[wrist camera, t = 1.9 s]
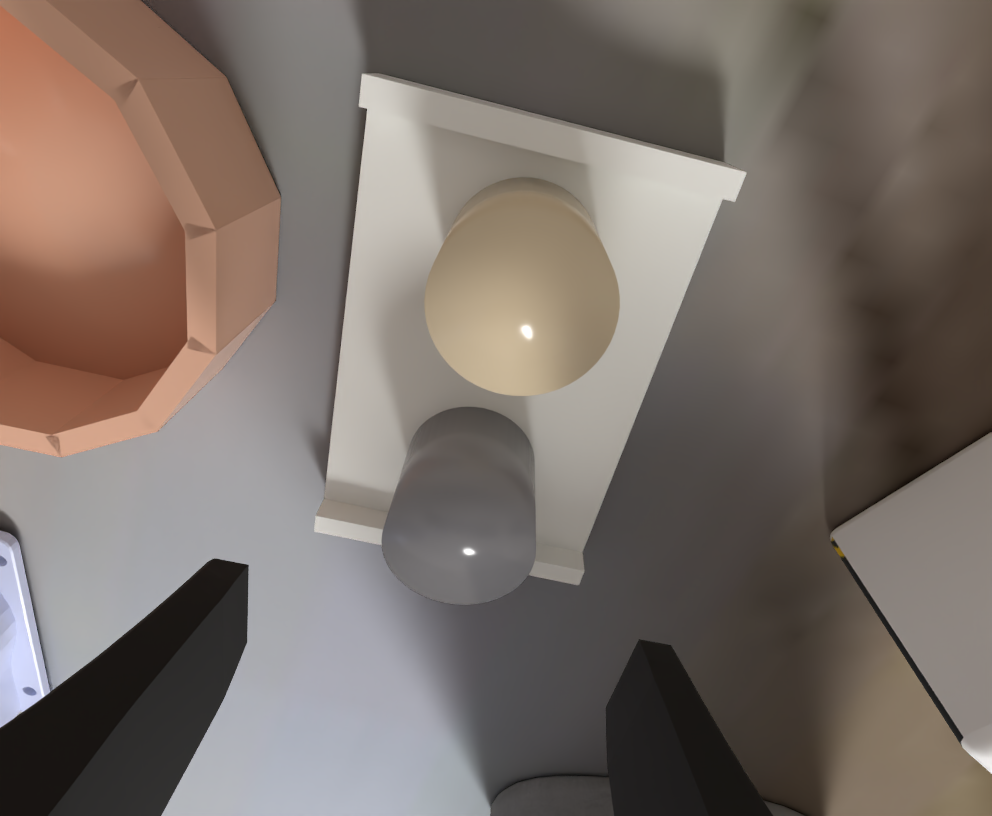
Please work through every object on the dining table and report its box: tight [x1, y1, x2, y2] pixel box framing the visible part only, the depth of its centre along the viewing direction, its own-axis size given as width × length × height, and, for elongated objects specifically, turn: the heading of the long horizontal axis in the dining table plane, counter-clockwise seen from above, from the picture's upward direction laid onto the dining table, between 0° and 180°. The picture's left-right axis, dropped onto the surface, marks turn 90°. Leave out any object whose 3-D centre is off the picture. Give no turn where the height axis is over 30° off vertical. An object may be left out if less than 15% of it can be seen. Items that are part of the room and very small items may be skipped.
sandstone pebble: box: [424, 177, 620, 396], centre depth 13 cm, size 4×4×4 cm
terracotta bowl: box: [0, 0, 281, 457], centre depth 13 cm, size 10×10×4 cm
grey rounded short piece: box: [381, 407, 536, 605], centre depth 16 cm, size 4×4×4 cm
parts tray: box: [314, 73, 747, 585], centre depth 16 cm, size 12×8×2 cm, turn 168°
